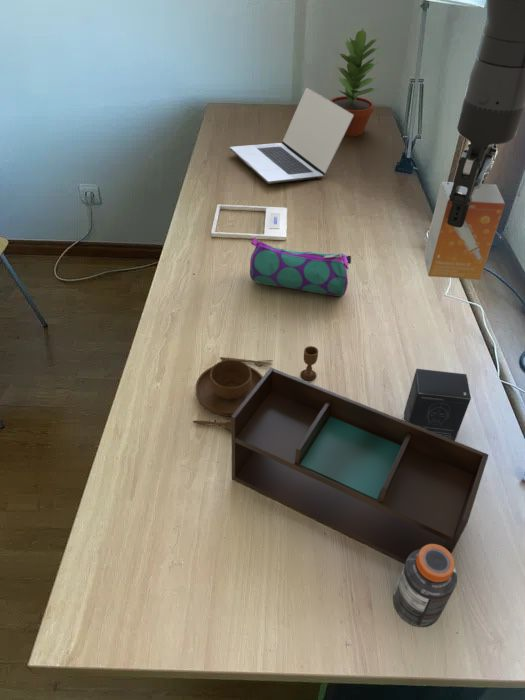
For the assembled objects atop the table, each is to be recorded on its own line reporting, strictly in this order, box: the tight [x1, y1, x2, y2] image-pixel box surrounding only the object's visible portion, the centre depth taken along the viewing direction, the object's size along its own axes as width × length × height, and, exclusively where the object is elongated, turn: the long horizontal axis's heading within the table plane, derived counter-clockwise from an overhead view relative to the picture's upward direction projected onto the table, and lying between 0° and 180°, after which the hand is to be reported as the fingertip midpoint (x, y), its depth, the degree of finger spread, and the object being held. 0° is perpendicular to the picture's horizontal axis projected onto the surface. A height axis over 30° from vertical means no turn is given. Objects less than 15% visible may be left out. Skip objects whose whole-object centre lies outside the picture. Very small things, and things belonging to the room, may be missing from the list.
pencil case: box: [249, 237, 352, 297], centre depth 118 cm, size 21×9×10 cm, turn 78°
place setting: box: [192, 345, 319, 431], centre depth 94 cm, size 18×20×6 cm
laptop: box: [229, 86, 354, 185], centre depth 161 cm, size 26×24×18 cm
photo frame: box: [210, 203, 288, 241], centre depth 140 cm, size 15×1×18 cm
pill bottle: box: [392, 544, 458, 628], centre depth 67 cm, size 6×6×11 cm
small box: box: [423, 181, 506, 281], centre depth 85 cm, size 8×6×13 cm
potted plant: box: [329, 28, 379, 137], centre depth 179 cm, size 15×15×30 cm
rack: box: [230, 367, 489, 565], centre depth 77 cm, size 31×11×14 cm, turn 61°
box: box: [403, 368, 472, 441], centre depth 88 cm, size 8×6×11 cm
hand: (462, 213), depth 83 cm, fingers closed on small box, 8 cm apart
